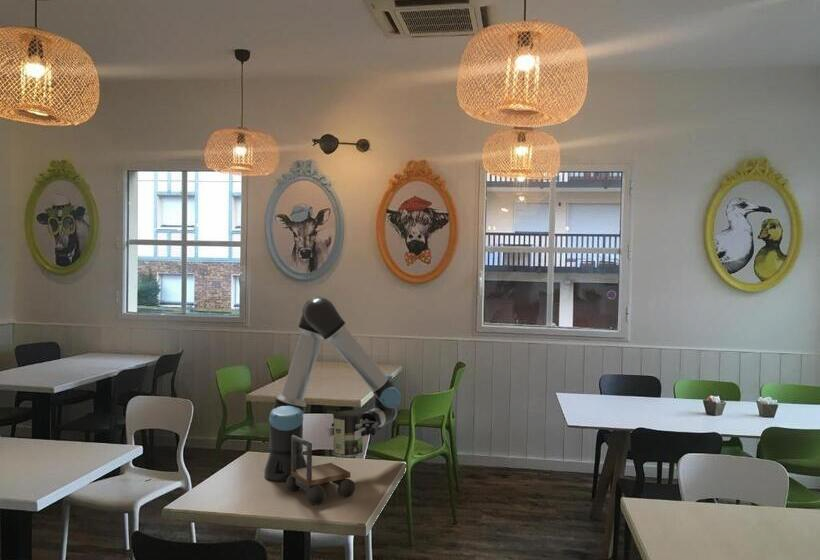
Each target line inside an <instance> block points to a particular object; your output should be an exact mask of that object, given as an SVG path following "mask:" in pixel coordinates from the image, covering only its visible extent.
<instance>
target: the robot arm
mask: <svg viewBox="0 0 820 560" xmlns="http://www.w3.org/2000/svg"><path fill="white" fill-rule="evenodd" d="M301 310H302V314H301V317H300V321H299V324H298V327H297V328H298V330H299V332H300V334H299V338H298V340H297V344H296V347H295V350H294V353H293V356H292V361H291V362H290V366H289V369H288V373H287V376H286V379H285V383H284V386H283V388H282V392H281V393H280V394H278V395H277V396H275V397H276V398H275V400H274V401H275V402H274V404H273V407H272V409H271V411H270V413H269V418H268V421H269V454H268V457H267V460H266V464H265V467H264V475H263V476H264V477H265V479H267V480H270V481H275V482H286V480H287V478H288V476H289V475H290V474H291V436H292V435H295V436H297V437H299V438H301V439H303V440H304V438H303V437H304V434H303V433H304V432H303V431H304V429H303V426H304V425H303V423H304V414H305V410H306V407H307V403H306V401H305V396H306V394H307V390H308V387H309V384H310V381H311V377H312V374H313V371H314V367H315V364H316V361H317V359H318V358H317V357H318V355H319V351H320V350H321V349H320V347H321V345H322V342H323V339H324V341H329V342H330V343H331V344H332V345H333V347H334V348H335V349H336V350H337V352H338V353H339V354H340V355H341V356H342V357H343V359H344V360H345V361H346V362H347V363H348V365H349V366H350V367H351V368H352V369H353V371H354V372H355V373H356V374H357V375H358V376H359V378H360V379H361V380H362V381H363V382H364V384H365V385H366V386H367V387H368V388H369V389H370V390H371V392H372V393H373V408H371V409H370V410H368V411H365V412H362V413H363V415H362V429H359V430H357V431H355V440H357V439H359V438H361V437H362V438H364V437H365V436H370V435H371V436H375V435H376V434H377V433H378V432H379V430H381V429H382V427H384V426H387V425H389V424H390V423H392V422H393V421H395V419H396V418H397V416H398V410H397V408H396V407H397V406H399V404H400V403H401V399H402V395H401V392H400V390H399V389H398V388H397V387H396V386H395V385H394V380H393V379H394V378H393V376H392V375H391V374H387V373H384V371H383V370H382V369H381V368H380V367H379V365H377V363H376V362H375V361H374V360H373V358H372V357H371V356H370V355H369V353H368V352H367V351H366V350H365V348H363V346H362V345H361V344H360V343H359V342H358V340H357V339H356V337H354V335H352V333H351V332H350V331H349V330H348V328H347V327H346V321H345V320H344V319H343V317H342V316H341V315H340V313H339V312H338V309H336V306H335V305H334V304H333V303H332V301H330V300H329V299H328V298H325V297H322V296H315V297H311V298H310V299H308V300H307V301H306V302H305V303H304V305H303V307H302V309H301ZM332 436H334V422H332V423H331V426H330V427H329V428H327V437H329V438H330V437H332ZM303 446H304V445H303V444H301V443H299V442H297V441H296V469H301V468H306V467H307V460H306V458H305V455H304V452H303V451H304V450H303V449H304V448H303Z"/></svg>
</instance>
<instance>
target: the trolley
mask: <svg viewBox="0 0 820 560" xmlns="http://www.w3.org/2000/svg"><path fill="white" fill-rule="evenodd" d="M296 441H297V442H299V443H301V444H303V446H305V447H306V464H307V467H306V468H301V469H296ZM312 460H313V443H312V442H310V441H308V440H305V439H304V438H303V439H301V438H299V437H297V436H295V435H292V436H291V474H290V475H289V476H288V478H287V480H286V481H285V485H286V488H288V489H289V490H290V491H292V492H297V491H300V489H302V490H304V491H305V492H306V499H307V501H308V502H309V503H311V504H312V505H316V504H317V505H319V504H322V502H323V501H324V499H325V497H326V491H325V488H324V487H322V486H321V485H323V486H326V485H328V484H330V483H333V484H334V485H337V492H338V494H339V496H342V497H344V498H346V497H347V498H349V497H351V496H352V495H353V494H354V492H355V490H356V483H355V482H354V480H352V479H350V478H351V471H349V470H346V469H345V468H342V467H341V466H338V465H336V464H335V463H332V462H327V463H323V464H318V465H313V463H312V462H313V461H312ZM325 484H326V485H325Z"/></svg>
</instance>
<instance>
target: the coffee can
mask: <svg viewBox="0 0 820 560" xmlns="http://www.w3.org/2000/svg"><path fill="white" fill-rule="evenodd" d="M363 413H364V412H362V411H359V410H339V411H335V412H333V414H332V416H333V423H334V435H333V456H336V457H339V458H355V457H359V456H362V455H363V451H364V450H363V437H361V438H359V439H357V440H355V431H357V430H359V429H362V415H363Z"/></svg>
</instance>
